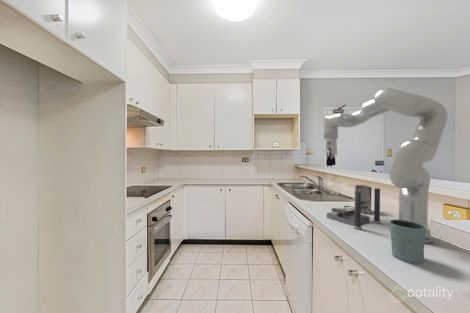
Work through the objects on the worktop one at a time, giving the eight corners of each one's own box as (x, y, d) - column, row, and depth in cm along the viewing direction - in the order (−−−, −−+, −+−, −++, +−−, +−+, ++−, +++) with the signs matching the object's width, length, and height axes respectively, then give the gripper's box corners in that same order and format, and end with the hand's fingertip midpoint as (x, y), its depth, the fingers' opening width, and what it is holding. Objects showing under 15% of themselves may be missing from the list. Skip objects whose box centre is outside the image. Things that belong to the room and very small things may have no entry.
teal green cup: (414, 267, 68) (415, 230, 68) (382, 253, 77) (382, 221, 77) (432, 260, 72) (432, 225, 72) (399, 248, 82) (399, 217, 81)
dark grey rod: (363, 229, 102) (363, 191, 102) (359, 230, 101) (359, 192, 100) (356, 227, 105) (356, 190, 105) (352, 228, 104) (352, 191, 103)
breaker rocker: (356, 209, 115) (355, 206, 115) (351, 210, 113) (350, 207, 113) (341, 210, 122) (340, 207, 123) (336, 211, 120) (336, 208, 121)
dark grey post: (381, 223, 111) (382, 188, 110) (378, 224, 109) (378, 189, 109) (375, 221, 113) (375, 188, 113) (372, 222, 112) (372, 188, 112)
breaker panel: (370, 221, 114) (370, 210, 114) (353, 226, 106) (353, 214, 106) (342, 213, 128) (342, 204, 127) (326, 217, 120) (326, 207, 120)
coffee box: (371, 213, 128) (372, 187, 127) (360, 213, 128) (360, 187, 128) (364, 209, 137) (364, 185, 136) (354, 209, 138) (354, 184, 137)
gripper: (335, 135, 117) (335, 166, 117) (340, 137, 131) (340, 165, 132) (321, 136, 121) (321, 166, 121) (327, 138, 136) (327, 164, 136)
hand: (331, 165), depth 127 cm, fingers open, 9 cm apart
